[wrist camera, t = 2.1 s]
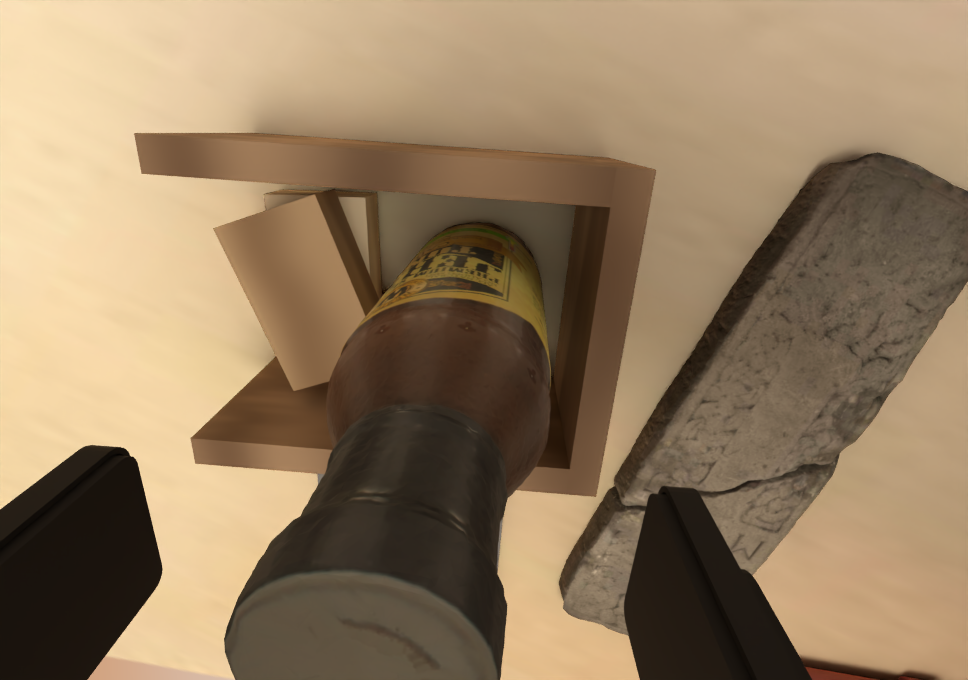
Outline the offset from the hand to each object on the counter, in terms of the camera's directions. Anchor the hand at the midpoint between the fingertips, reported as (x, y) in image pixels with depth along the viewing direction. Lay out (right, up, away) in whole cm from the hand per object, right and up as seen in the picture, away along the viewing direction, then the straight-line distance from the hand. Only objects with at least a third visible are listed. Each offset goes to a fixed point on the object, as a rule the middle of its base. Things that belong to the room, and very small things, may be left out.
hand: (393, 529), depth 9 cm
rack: (-2, +7, +16) cm, 17 cm away
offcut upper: (-6, +6, +14) cm, 17 cm away
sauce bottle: (+1, +7, +16) cm, 18 cm away
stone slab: (+16, -2, +19) cm, 25 cm away
